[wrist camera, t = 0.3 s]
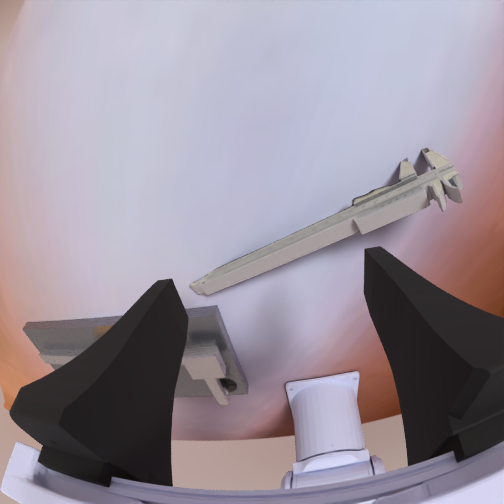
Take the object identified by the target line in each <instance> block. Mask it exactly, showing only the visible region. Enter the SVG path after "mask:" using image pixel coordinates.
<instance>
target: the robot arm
mask: <svg viewBox="0 0 504 504" xmlns="http://www.w3.org/2000/svg"><path fill="white" fill-rule="evenodd" d="M364 295H365V299H366V302H367V306H368V309H369V313H370V316H371V318H372V321H373V323H374V326H375V328H376V331H377V333H378V335H379V338H380V340H381V343H382V345H383V348H384V350H385V353H386V355H387V358H388V360H389V363H390V366H391V369H392V372H393V376H394V380H395V384H396V389H397V393H398V398H399V403H400V408H401V413H402V419H403V425H404V432H405V439H406V448H407V458H408V466H407V467H404V468H401V469H397V470H394V471H390V472H385V468H384V464H383V462H382V460H381V459H380V458H378V457H377V456H376V455H373V456H370V457H369V452H368V449H366V447H365V441H364V436H363V431H362V426H361V421H360V416H359V411H358V406H357V401H356V400H357V392H358V384H359V372H357V371H354V372H349V373H344V374H338V375H333V376H327V377H321V378H315V379H308V380H301V381H294V382H288V383H286V391H287V395H288V399H289V403H290V407H291V411H292V415H293V420H294V428H295V444H296V461H297V463H293V471H288V472H287V473H286V475H285V476H284V477H283V479H282V482H281V489H277V490H253V491H225V490H201V489H189V488H179V487H173V484H172V469H171V428H172V412H173V402H174V394H175V388H176V384H177V379H178V375H179V371H180V366H181V362H182V358H183V354H184V349H185V345H186V340H187V332H188V320H189V317H188V315H187V313H186V310H185V308H184V306H183V304H182V301H181V299H180V297H179V294H178V292H177V290H176V287H175V285H174V282H173V280H172V279H165V280H158V281H157V282H156V283H154V284H153V285H152V286H151V287H150V288H149V289H148V290H147V291H146V292H145V293H144V294H143V295H142V296H141V297H140V299H139V300H138V301H137V302H136V303H135V304H134V305H133V306H132V307H131V308H130V309H129V310H128V311H127V312H126V313H125V314H124V315H123V316H122V317H121V318H120V319H119V320H118V321H117V322H116V323H115V324H114V325H113V326H112V327H111V328H110V329H109V330H108V331H107V332H106V333H105V334H104V335H103V336H101V337H100V338H99V339H98V340H97V341H96V342H94V343H93V344H92V345H91V346H90V347H88V348H87V349H86V350H85V351H83V352H82V353H80V354H79V355H78V356H76V357H75V358H73V359H72V360H71V361H69V362H68V363H66V364H65V365H63V366H62V367H60V368H58V369H57V370H55V371H53V372H52V373H50V374H48V375H46V376H45V377H43V378H41V379H39V380H37V381H34V382H32V383H30V384H28V385H26V386H24V387H22V388H21V389H20V391H19V393H18V395H17V397H16V399H15V401H14V403H13V405H12V407H11V409H10V416H11V418H12V419H13V421H14V422H15V423H16V424H17V425H18V426H19V427H20V428H21V429H23V430H24V431H25V432H26V433H27V434H29V435H30V436H31V437H32V438H34V439H35V440H36V441H38V442H39V443H40V444H42V445H43V447H42V450H41V451H39V450H37V449H35V448H33V447H31V446H28V445H26V444H24V443H21V442H16V444H15V447H14V450H13V452H12V455H11V458H10V460H9V463H8V466H7V469H6V472H5V475H4V478H3V481H2V485H1V488H0V490H1V491H2V492H3V493H4V494H6V495H8V496H9V497H11V498H12V499H14V500H16V501H17V502H19V503H21V504H504V318H501V317H499V316H496V315H493V314H491V313H488V312H485V311H483V310H481V309H479V308H476V307H474V306H472V305H470V304H468V303H466V302H464V301H462V300H460V299H458V298H456V297H454V296H452V295H451V294H449V293H447V292H445V291H443V290H442V289H440V288H438V287H437V286H435V285H434V284H432V283H431V282H429V281H428V280H426V279H425V278H423V277H422V276H420V275H419V274H417V273H416V272H415V271H413V270H412V269H410V268H409V267H408V266H406V265H405V264H404V263H402V262H401V261H400V260H398V259H397V258H396V257H394V256H393V255H392V254H390V253H389V252H387V251H386V250H385V249H383V248H382V247H380V246H379V247H373V248H367V249H365V258H364Z"/></svg>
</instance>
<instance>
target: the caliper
mask: <svg viewBox="0 0 504 504" xmlns="http://www.w3.org/2000/svg"><path fill="white" fill-rule="evenodd" d="M422 153H423V155H424V158H425V160H426V162H427V164H428V165H429V167H430V168H431V171H429V172H426V173H424V174H422V175H420V176H417V174H416V171H415V170H414V168H413V166H412V164H411V162H410V161H408V159H407V158H406V159H404V160H403V161H401V165H400V175H399V182H397V183H395V184H393V185H391V186H385V187H381V188H378V189H374V190H372V191H370V192H369V193H368V194H366V195H363V196H360V197H357V198H354V199H353V200H352V207H350V208H347V209H345V210H343V211H341V212H339V213H337V214H334V215H332V216H330V217H328V218H326V219H324V220H321V221H319V222H317V223H315V224H313V225H311V226H308V227H306V228H304V229H302V230H300V231H298V232H295V233H293V234H291V235H289V236H287V237H285V238H282V239H280V240H278V241H276V242H274V243H271V244H269V245H267V246H265V247H263V248H260V249H258V250H256V251H254V252H252V253H250V254H247V255H245V256H243V257H241V258H239V259H236V260H234V261H232V262H230V263H228V264H225V265H223V266H221V267H219V268H217V269H215V270H213V271H212V272H210V273H208V274H207V275H205V276H203V277H202V279H200V280H198V281H196V282H193V283H192V284H190V285H189V286H190V287H191V288H192V289H193V290H194V291H195V292H196V293H197V294H199V295H200V294H202V293H205V294H206V295H209V294H212V293H214V292H217V291H219V290H222V289H224V288H227V287H229V286H232V285H234V284H237V283H239V282H242V281H244V280H247V279H249V278H252V277H254V276H256V275H259V274H261V273H264V272H266V271H268V270H271V269H273V268H276V267H278V266H280V265H283V264H285V263H288V262H290V261H292V260H295V259H297V258H300V257H302V256H304V255H307V254H309V253H311V252H314V251H316V250H318V249H321V248H323V247H325V246H328V245H330V244H332V243H335V242H337V241H339V240H342V239H344V238H346V237H349V236H351V235H353V234H355V233H358V232H361V234H362V235H363V234H366V233H368V232H370V231H373V230H375V229H377V228H380V227H382V226H384V225H387V224H389V223H391V222H394V221H396V220H398V219H401V218H403V217H405V216H408V215H410V214H412V213H414V212H417V211H419V210H421V209H423V208H426V207H428V206H429V205H430V202H429V201H430V200H432V199H434V200H437V201H438V204H439V207H440V209H441V210H442V212H444V210H445V207H446V197H445V194H447V196H448V198H449V199H451V200H453V201H454V202H457V203H462V199H461V195H460V192H459V191H460V190H462V189H464V188H463V184H462V181H461V177H460V174H459V173H458V171H457V170H456V168H455V167H454V165H453V164H452V163H451V161H450V160H449V159H447V158H446V157H444V156H442V155H441V154H439V153H437V152H435V151H434V150H432V149H430V148H425V149H422Z"/></svg>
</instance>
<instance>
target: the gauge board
mask: <svg viewBox="0 0 504 504" xmlns="http://www.w3.org/2000/svg"><path fill="white" fill-rule="evenodd" d="M185 310H186V313H187V315H188V317H189V320H188V332H187V340H186V345H185V349H184V354H183V358H182V362H181V366H180V371H179V375H178V379H177V384H176V388H175V394H174V397H203V396H214V397H215V398H216V400H217V402H218V403H219V405H229V401H230V400H229V398H228V395H240V394H248V383H247V381H246V378H245V376H244V373H243V371H242V369H241V366H240V364H239V361H238V359H237V356H236V354H235V351H234V348H233V346H232V343H231V341H230V338H229V336H228V333H227V330H226V328H225V325H224V323H223V320H222V317H221V315H220V312H219V309H218V307H217V306H209V307H201V308H192V309H185ZM121 317H122V316H115V317H103V318H91V319H77V320H62V321H45V322H27V323H26V325H25V326H24V328H23V331H24V332H25V333H26V335H27V336H28V337H29V339H30V340H31V341H32V343H33V344H34V345H35V346H36V348H37V349H38V350H39V351H40V354H39V356H40V357H41V358H42V359H43V361H44V362H45V363H48V364H50V365H51V366H52V367H53V368H54V369H55V370H57V369H58V368H60V367H62V366H63V365H65V364H66V363H68V362H69V361H71V360H72V359H73V358H75V357H76V356H78V355H79V354H80V353H82V352H83V351H85V350H86V349H87V348H88V347H90V346H91V345H92V344H93V343H94V342H96V341H97V340H98V339H99V338H100V337H101V336H103V335H104V334H105V333H106V332H107V331H108V330H109V329H110V328H111V327H112V326H113V325H114V324H115V323H116V322H117V321H118V320H119V319H120V318H121Z"/></svg>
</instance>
